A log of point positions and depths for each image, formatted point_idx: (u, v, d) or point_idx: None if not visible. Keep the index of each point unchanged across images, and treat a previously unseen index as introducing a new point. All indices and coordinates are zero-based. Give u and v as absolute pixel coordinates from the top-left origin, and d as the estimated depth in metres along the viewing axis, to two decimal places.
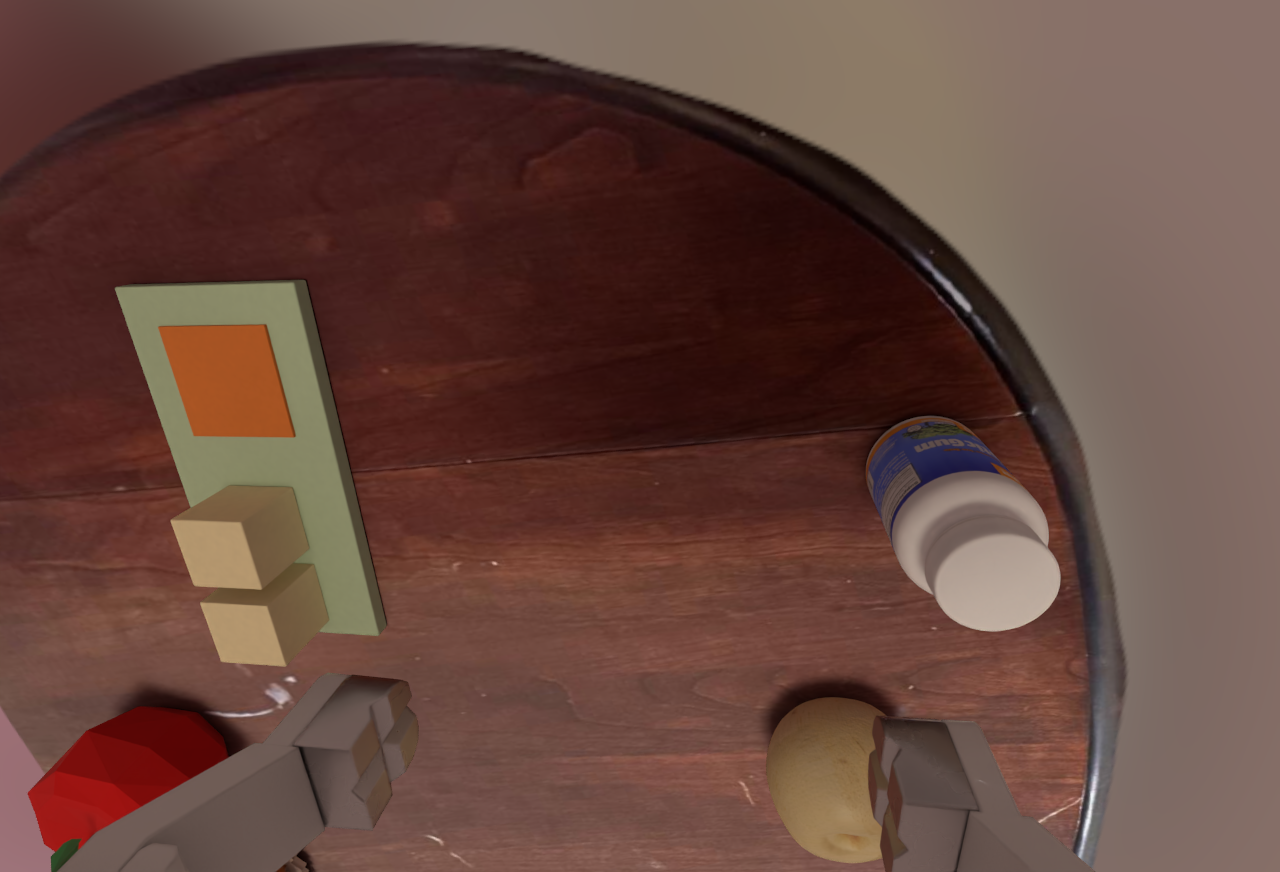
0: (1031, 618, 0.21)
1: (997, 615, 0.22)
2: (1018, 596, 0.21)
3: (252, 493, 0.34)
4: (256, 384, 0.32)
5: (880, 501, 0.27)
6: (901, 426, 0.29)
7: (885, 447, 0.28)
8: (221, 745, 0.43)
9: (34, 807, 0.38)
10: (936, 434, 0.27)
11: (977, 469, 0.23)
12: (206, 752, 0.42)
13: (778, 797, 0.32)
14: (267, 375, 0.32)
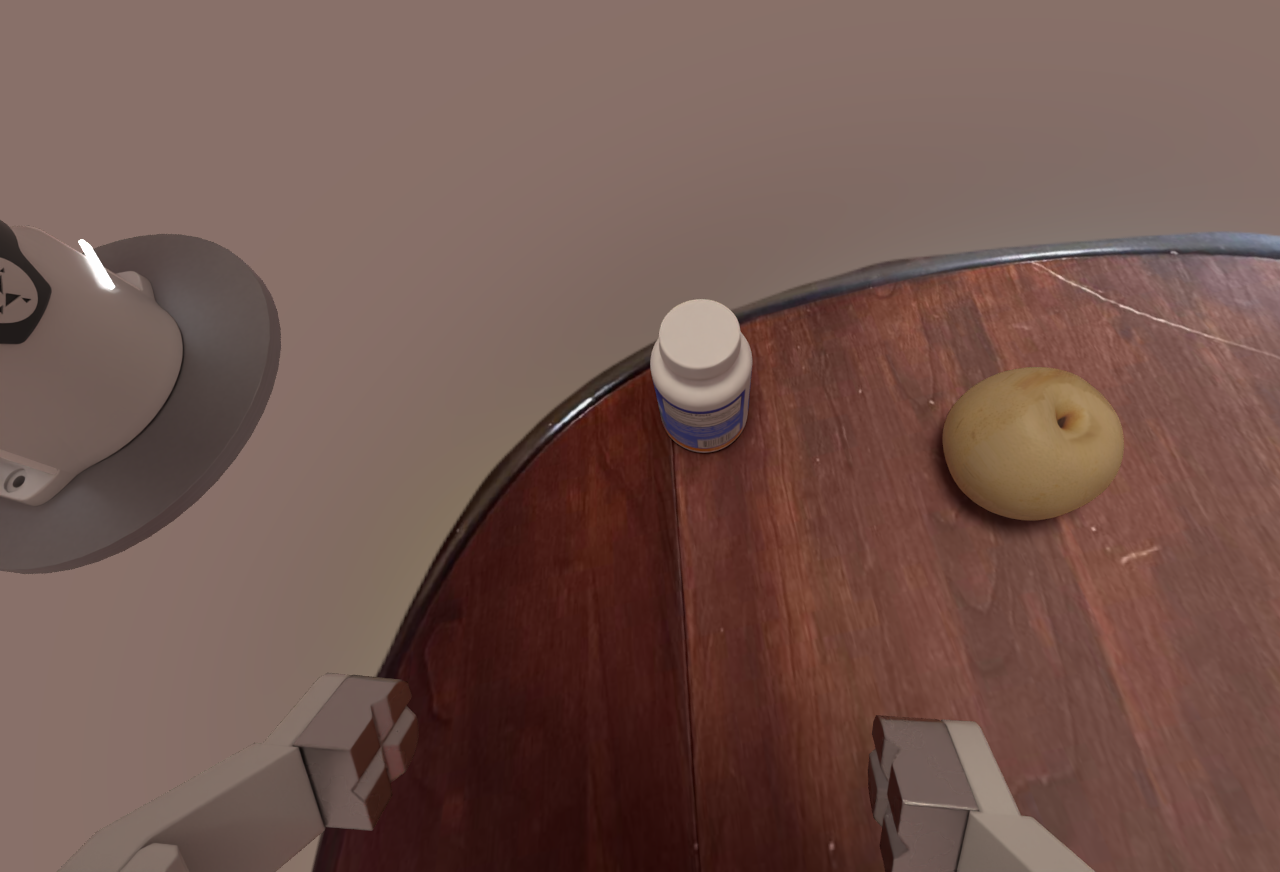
0: (726, 309, 0.31)
1: (724, 328, 0.30)
2: (707, 319, 0.30)
3: None
4: None
5: (699, 429, 0.34)
6: (665, 428, 0.38)
7: (675, 436, 0.37)
8: None
9: None
10: None
11: None
12: None
13: (1049, 494, 0.29)
14: None
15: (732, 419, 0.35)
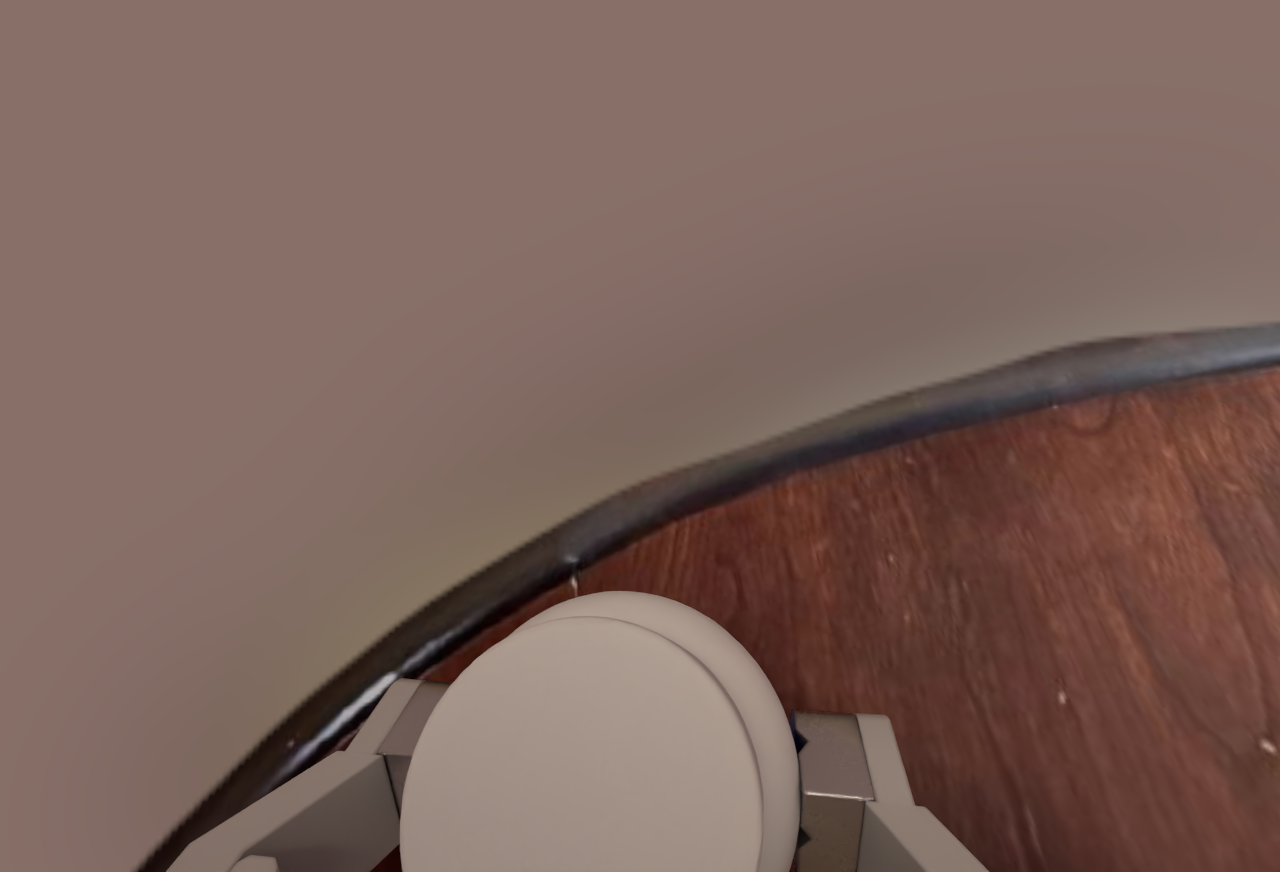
0: (701, 683, 0.07)
1: (691, 796, 0.07)
2: (617, 733, 0.07)
3: None
4: None
5: None
6: None
7: None
8: None
9: None
10: None
11: None
12: None
13: None
14: None
15: None
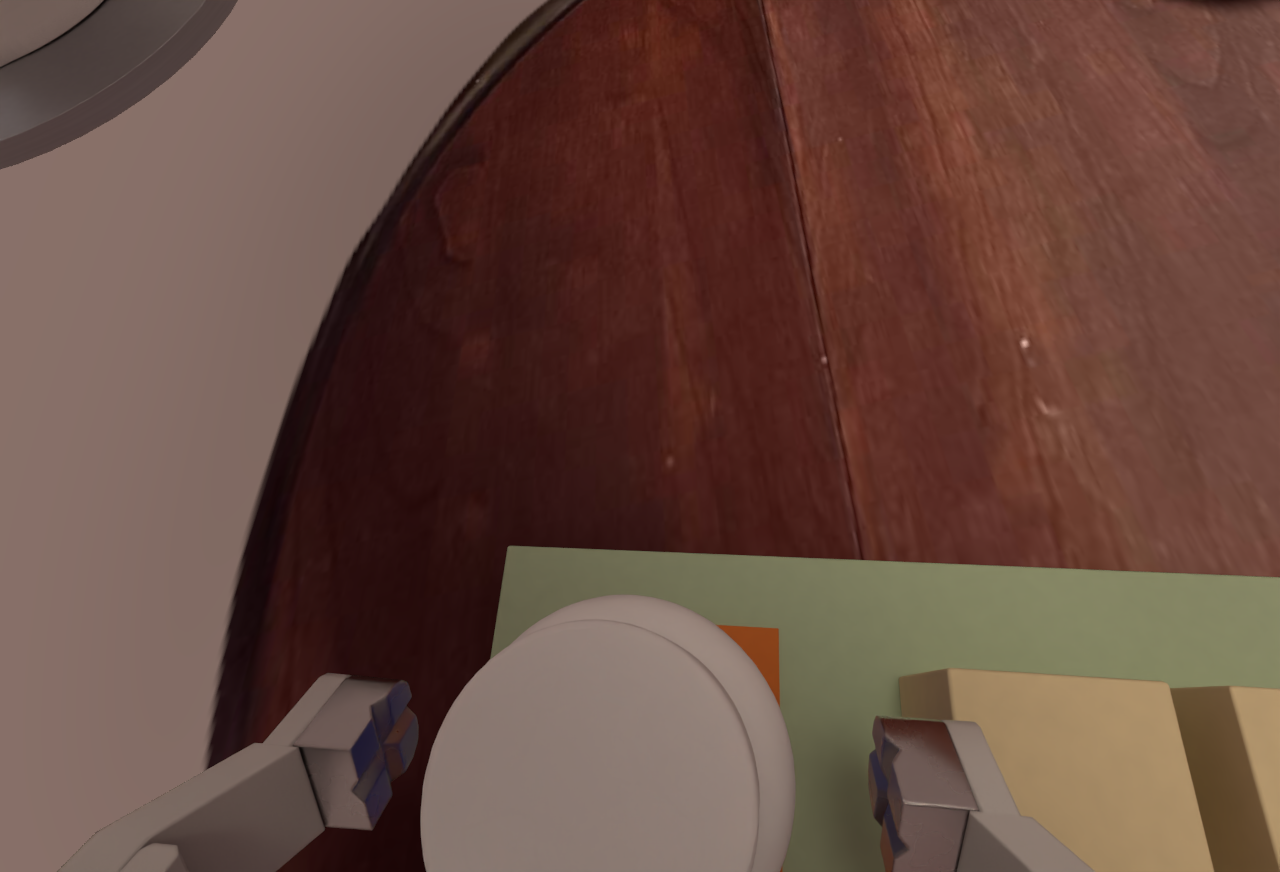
0: (701, 682, 0.07)
1: (692, 787, 0.07)
2: (622, 729, 0.07)
3: None
4: None
5: None
6: None
7: None
8: None
9: None
10: None
11: None
12: None
13: None
14: None
15: None
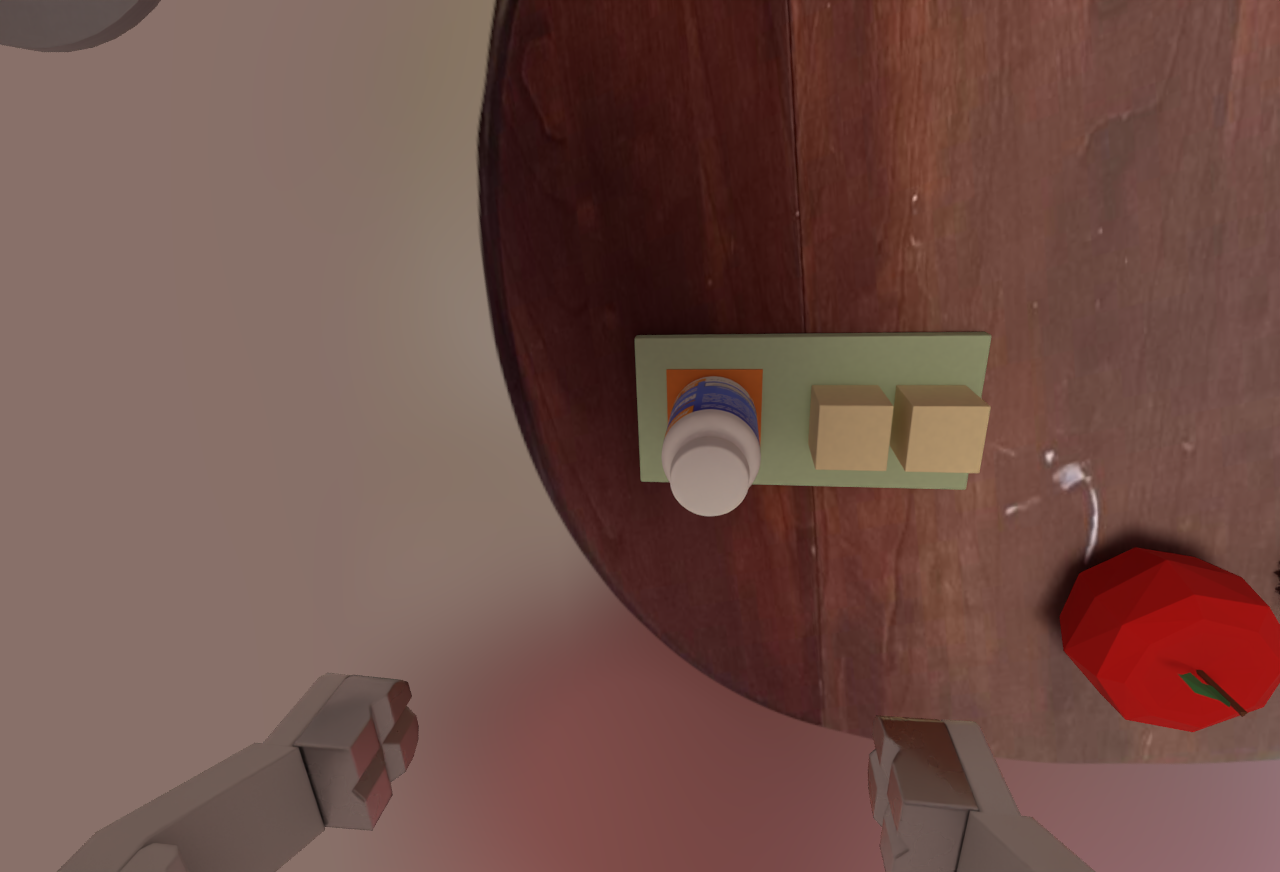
0: (735, 458, 0.30)
1: (733, 479, 0.31)
2: (717, 469, 0.31)
3: (811, 416, 0.38)
4: None
5: None
6: None
7: None
8: (1129, 550, 0.39)
9: (1143, 714, 0.37)
10: None
11: None
12: (1129, 559, 0.39)
13: None
14: None
15: None
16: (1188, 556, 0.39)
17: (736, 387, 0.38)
